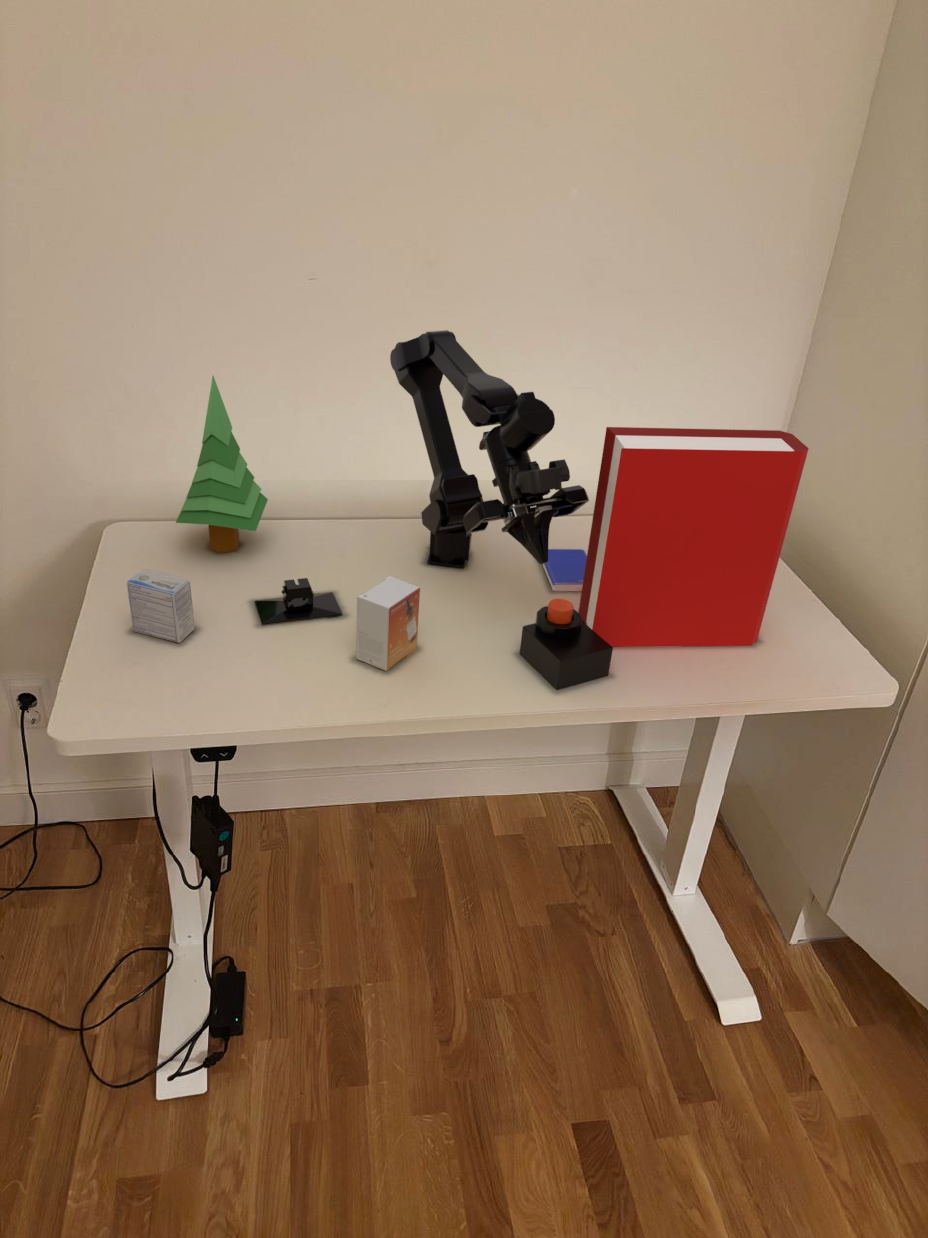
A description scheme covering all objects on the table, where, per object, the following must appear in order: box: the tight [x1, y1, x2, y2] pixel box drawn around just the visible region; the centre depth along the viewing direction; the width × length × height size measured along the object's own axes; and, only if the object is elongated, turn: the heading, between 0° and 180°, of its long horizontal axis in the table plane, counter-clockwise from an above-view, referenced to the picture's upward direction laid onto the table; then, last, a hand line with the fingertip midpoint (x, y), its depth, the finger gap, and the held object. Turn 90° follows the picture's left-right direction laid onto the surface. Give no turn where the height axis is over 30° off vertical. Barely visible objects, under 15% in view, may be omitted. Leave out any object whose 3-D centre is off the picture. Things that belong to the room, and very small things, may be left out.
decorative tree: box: [175, 375, 269, 554], centre depth 158 cm, size 14×16×30 cm
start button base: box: [519, 605, 614, 691], centre depth 140 cm, size 11×9×7 cm
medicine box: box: [126, 568, 196, 644], centre depth 140 cm, size 8×4×9 cm, turn 71°
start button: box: [547, 598, 575, 624], centre depth 139 cm, size 4×4×2 cm
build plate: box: [253, 577, 343, 626], centre depth 149 cm, size 12×7×5 cm, turn 109°
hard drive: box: [541, 548, 587, 592], centre depth 166 cm, size 2×8×12 cm
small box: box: [355, 575, 421, 672], centre depth 138 cm, size 8×6×10 cm
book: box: [577, 426, 810, 648], centre depth 143 cm, size 27×8×32 cm, turn 97°
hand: (544, 563), depth 141 cm, fingers closed
